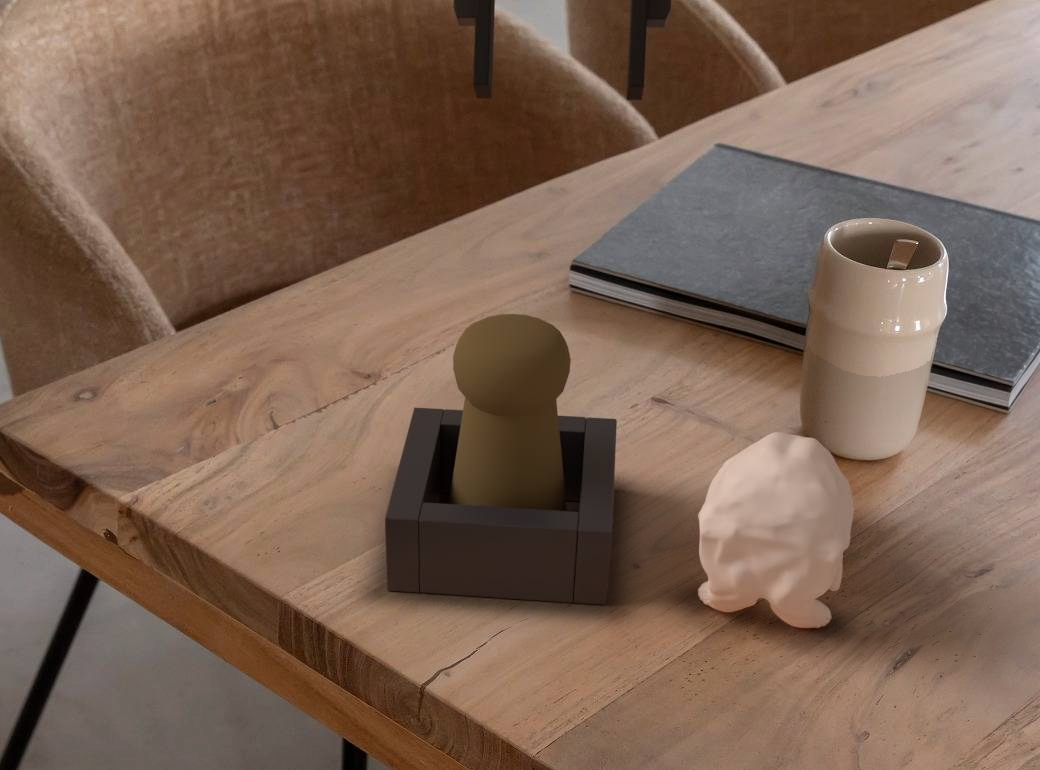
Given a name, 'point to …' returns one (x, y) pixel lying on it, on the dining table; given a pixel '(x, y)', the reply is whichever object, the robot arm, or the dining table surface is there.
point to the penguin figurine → (776, 529)
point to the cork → (510, 414)
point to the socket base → (501, 521)
